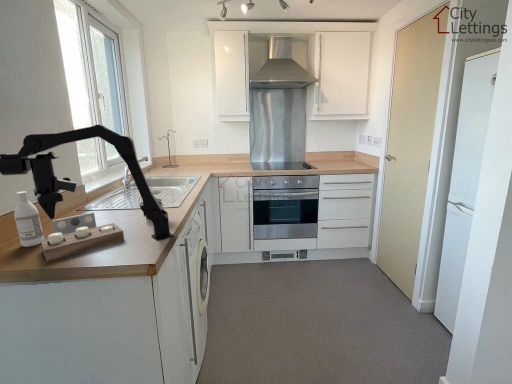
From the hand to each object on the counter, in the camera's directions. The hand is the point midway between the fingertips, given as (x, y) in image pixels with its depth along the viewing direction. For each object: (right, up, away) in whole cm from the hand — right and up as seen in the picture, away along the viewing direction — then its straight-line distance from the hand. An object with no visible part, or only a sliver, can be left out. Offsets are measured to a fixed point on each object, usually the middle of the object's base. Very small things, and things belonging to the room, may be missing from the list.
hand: (52, 218), depth 94 cm
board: (+6, -11, +8) cm, 15 cm away
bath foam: (-15, -11, +11) cm, 22 cm away
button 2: (+12, -9, +13) cm, 20 cm away
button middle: (+6, -8, +7) cm, 13 cm away
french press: (+23, -4, +32) cm, 40 cm away
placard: (-3, -8, +18) cm, 20 cm away
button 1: (0, -10, +2) cm, 10 cm away
